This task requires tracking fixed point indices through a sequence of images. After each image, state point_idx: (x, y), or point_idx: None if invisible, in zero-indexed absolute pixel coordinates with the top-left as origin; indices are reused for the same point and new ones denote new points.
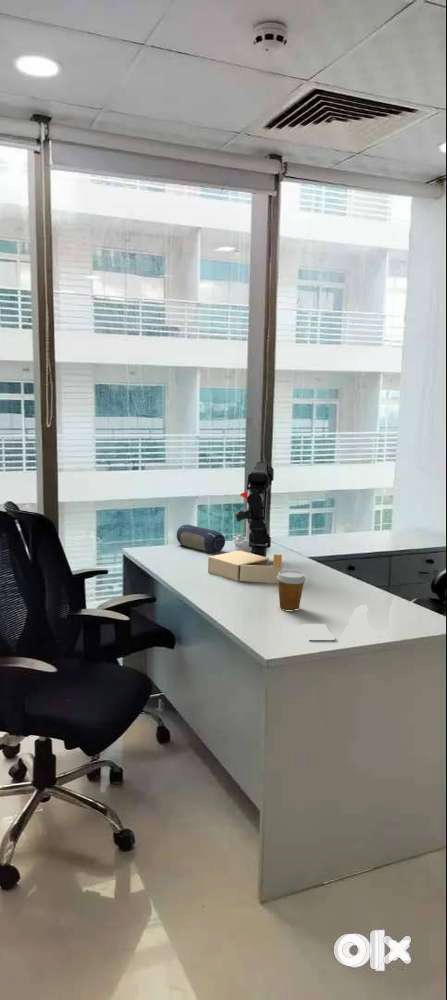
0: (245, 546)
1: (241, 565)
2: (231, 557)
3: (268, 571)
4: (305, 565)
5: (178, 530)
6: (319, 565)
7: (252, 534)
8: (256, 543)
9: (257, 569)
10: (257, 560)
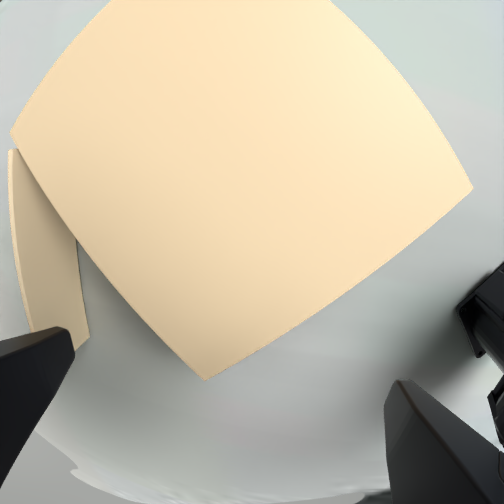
0: None
1: (8, 155)
2: (189, 62)
3: (45, 305)
4: (371, 464)
5: None
6: (361, 488)
7: (423, 417)
8: (54, 351)
9: (29, 250)
10: (117, 284)
